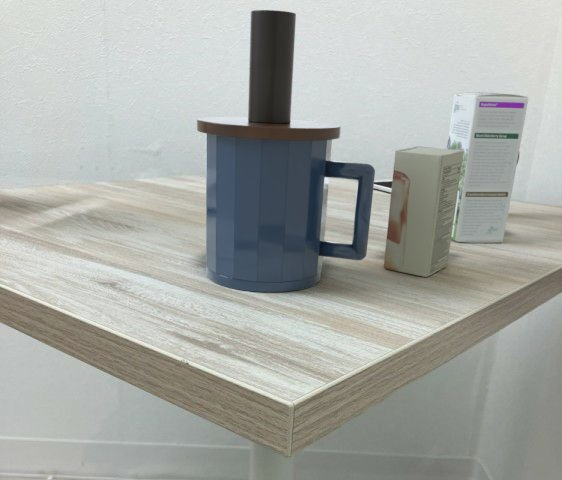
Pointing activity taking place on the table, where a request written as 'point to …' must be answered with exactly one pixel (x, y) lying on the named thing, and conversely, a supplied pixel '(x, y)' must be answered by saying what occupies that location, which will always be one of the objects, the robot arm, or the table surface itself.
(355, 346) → the table surface
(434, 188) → the printed cream carton
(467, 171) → the syrup box
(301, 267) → the blue faceted mug
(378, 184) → the cell phone
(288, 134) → the lid
